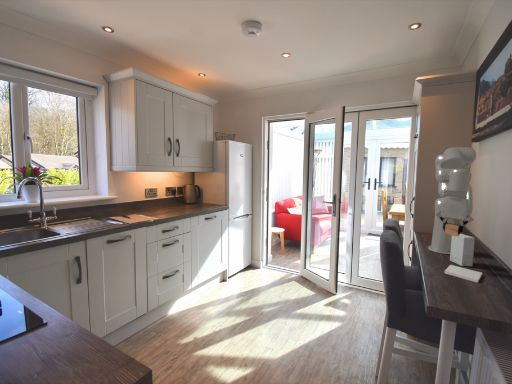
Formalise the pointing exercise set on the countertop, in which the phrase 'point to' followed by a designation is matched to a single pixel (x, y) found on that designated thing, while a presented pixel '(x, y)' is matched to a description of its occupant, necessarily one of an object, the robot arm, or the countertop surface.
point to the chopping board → (463, 273)
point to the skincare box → (462, 250)
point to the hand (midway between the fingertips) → (452, 231)
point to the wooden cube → (452, 229)
